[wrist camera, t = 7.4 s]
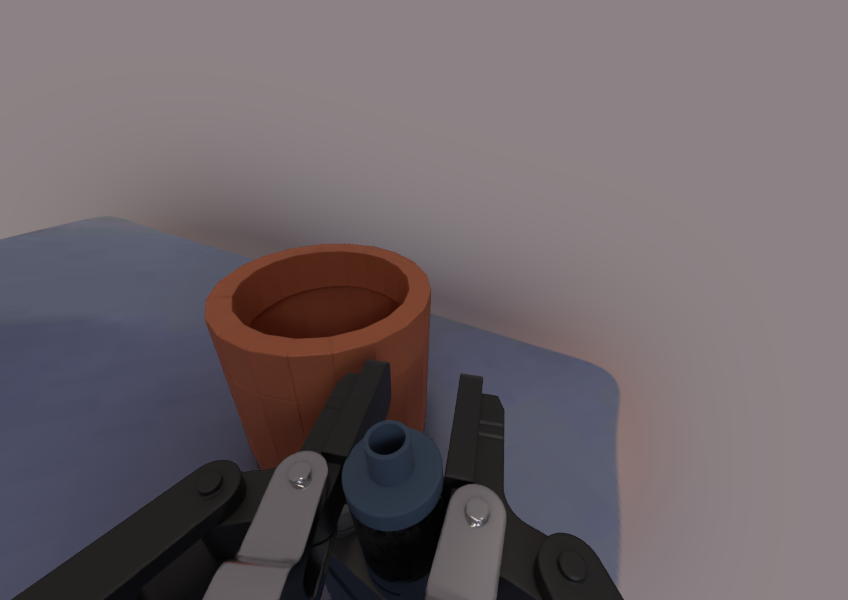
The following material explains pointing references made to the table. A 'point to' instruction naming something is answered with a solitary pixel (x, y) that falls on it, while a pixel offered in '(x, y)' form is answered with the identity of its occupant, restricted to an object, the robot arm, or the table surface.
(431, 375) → the table surface
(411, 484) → the vaping device
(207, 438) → the table surface
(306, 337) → the terracotta planter pot
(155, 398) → the table surface
